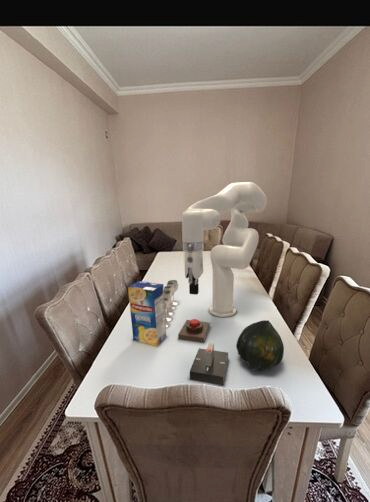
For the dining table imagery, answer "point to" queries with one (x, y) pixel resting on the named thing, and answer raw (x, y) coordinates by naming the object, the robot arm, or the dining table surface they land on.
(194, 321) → the power button
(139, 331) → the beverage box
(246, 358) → the squash
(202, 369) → the control panel
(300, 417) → the dining table surface
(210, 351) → the brew dial
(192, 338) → the switch block
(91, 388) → the dining table surface
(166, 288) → the goblet set
